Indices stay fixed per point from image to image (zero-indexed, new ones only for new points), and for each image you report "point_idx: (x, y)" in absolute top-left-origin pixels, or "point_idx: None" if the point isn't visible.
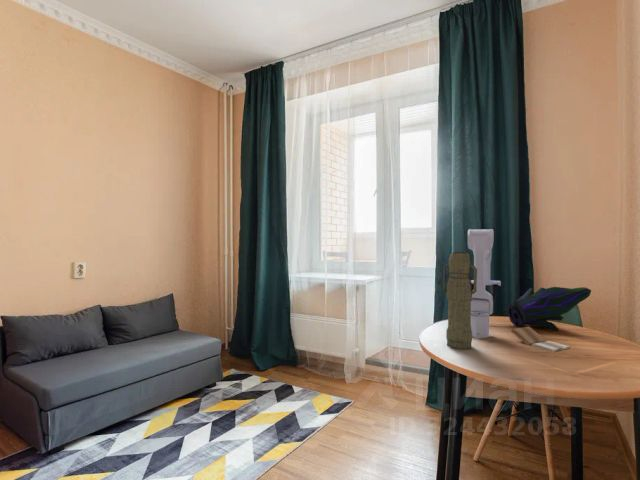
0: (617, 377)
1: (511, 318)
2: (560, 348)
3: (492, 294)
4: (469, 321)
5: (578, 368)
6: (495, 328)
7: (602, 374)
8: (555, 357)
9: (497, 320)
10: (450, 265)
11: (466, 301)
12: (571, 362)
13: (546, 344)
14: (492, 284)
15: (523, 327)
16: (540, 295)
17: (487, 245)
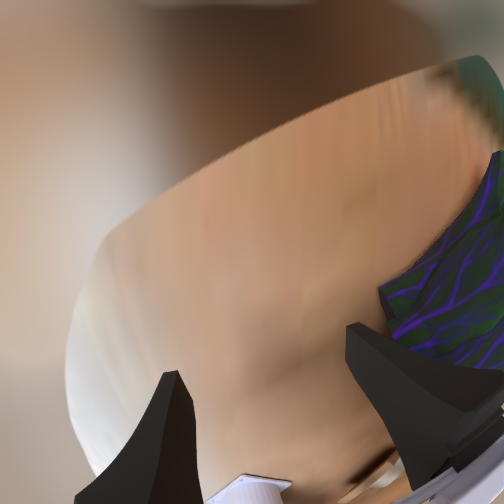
0: (410, 492)
1: (390, 313)
2: (402, 472)
3: (378, 402)
4: None
5: (385, 501)
6: (299, 400)
7: (401, 496)
8: (377, 492)
9: (310, 203)
10: None
11: None
12: (389, 492)
13: (390, 472)
14: (445, 485)
15: (375, 481)
16: None
17: None
